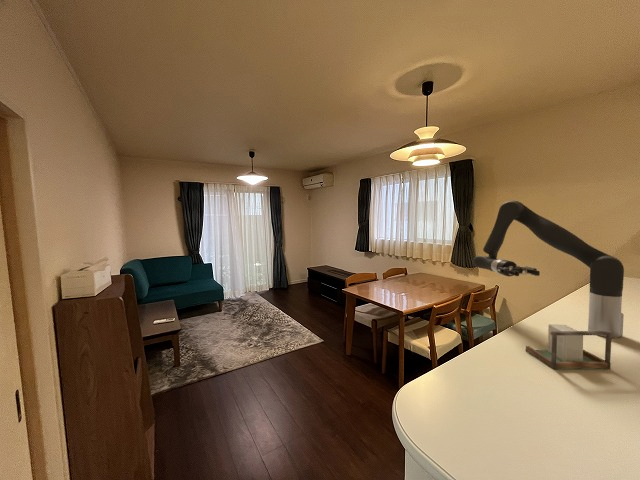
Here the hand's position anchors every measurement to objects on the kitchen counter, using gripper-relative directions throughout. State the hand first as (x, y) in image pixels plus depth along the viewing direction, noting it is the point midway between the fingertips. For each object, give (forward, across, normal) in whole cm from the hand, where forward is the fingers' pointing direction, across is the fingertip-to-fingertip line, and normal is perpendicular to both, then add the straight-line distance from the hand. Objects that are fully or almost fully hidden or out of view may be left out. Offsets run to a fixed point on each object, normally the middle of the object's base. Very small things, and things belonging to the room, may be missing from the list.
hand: (528, 273), depth 111 cm
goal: (+23, -4, +26) cm, 35 cm away
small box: (+22, -4, +26) cm, 34 cm away
